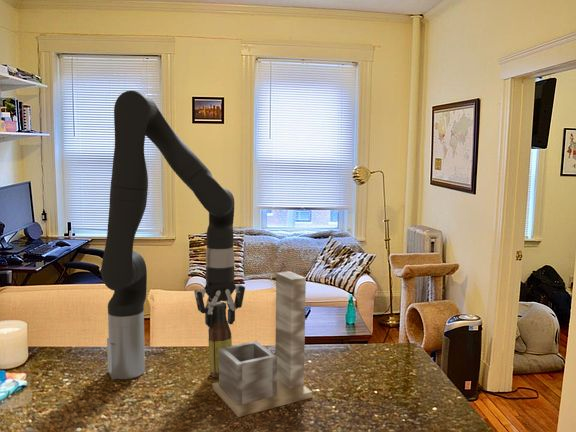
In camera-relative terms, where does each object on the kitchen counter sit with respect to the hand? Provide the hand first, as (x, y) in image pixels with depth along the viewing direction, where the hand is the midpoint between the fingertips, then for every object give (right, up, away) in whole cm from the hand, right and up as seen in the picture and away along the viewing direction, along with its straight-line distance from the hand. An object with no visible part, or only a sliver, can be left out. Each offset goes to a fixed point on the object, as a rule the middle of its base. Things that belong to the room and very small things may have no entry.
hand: (220, 325), depth 135 cm
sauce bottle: (0, -14, +2) cm, 14 cm away
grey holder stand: (+12, -15, -9) cm, 21 cm away
